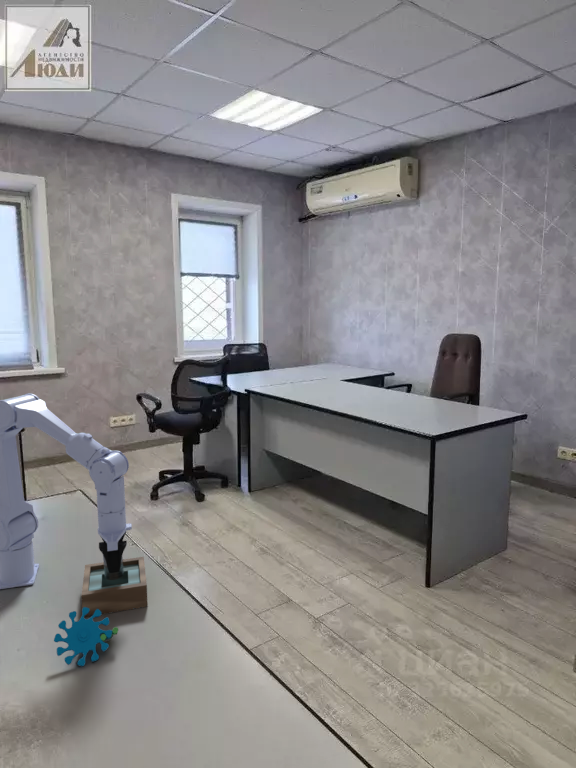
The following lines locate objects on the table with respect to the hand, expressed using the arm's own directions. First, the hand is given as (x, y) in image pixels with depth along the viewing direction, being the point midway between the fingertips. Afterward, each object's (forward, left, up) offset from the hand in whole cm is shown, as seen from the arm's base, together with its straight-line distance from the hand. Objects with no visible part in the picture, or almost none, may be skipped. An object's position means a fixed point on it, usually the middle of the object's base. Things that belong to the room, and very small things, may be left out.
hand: (114, 566), depth 114 cm
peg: (0, 0, -2) cm, 2 cm away
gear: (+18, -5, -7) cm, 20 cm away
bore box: (0, 0, -7) cm, 7 cm away
